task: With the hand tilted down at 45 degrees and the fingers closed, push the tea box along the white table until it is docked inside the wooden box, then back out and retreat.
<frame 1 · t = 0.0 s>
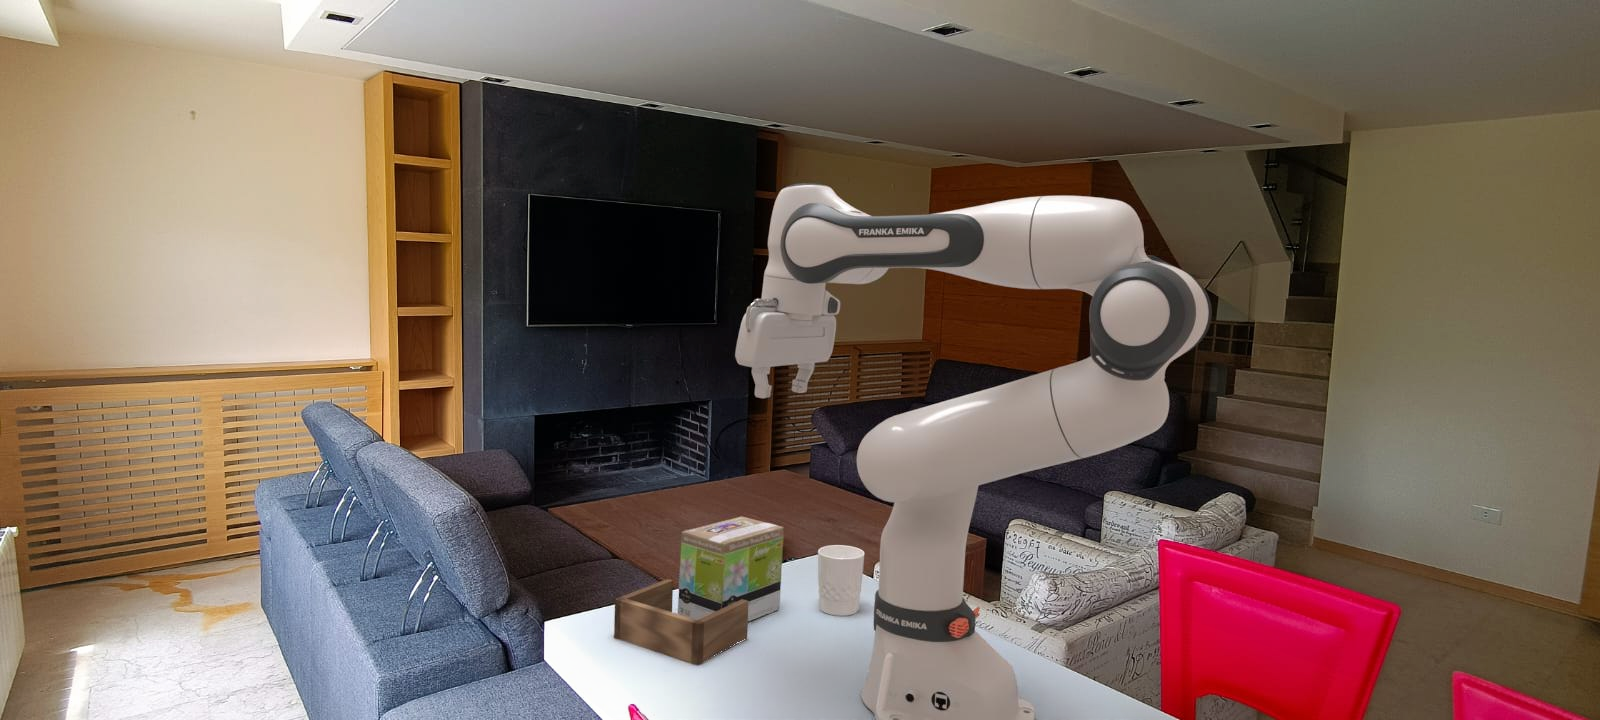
hand: (781, 394, 125), 39 cm above the table, tool pointing down, fingers open, 8 cm apart
wooden box: (680, 638, 134), on the table
tea box: (730, 616, 144), on the table
white cup: (838, 610, 149), on the table
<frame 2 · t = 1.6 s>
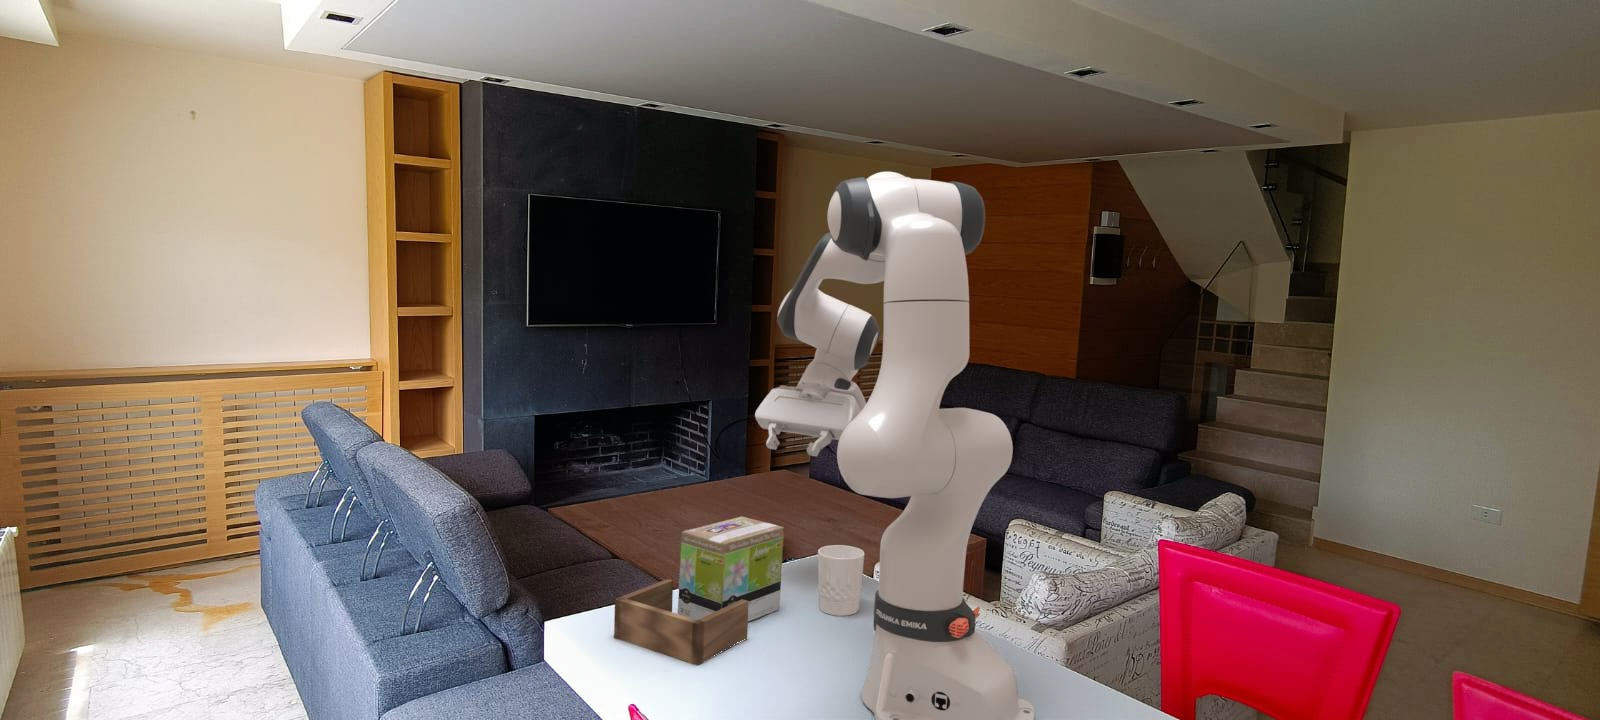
hand: (790, 450, 153), 26 cm above the table, tool tilted 45°, fingers open, 7 cm apart
nothing on the table moved.
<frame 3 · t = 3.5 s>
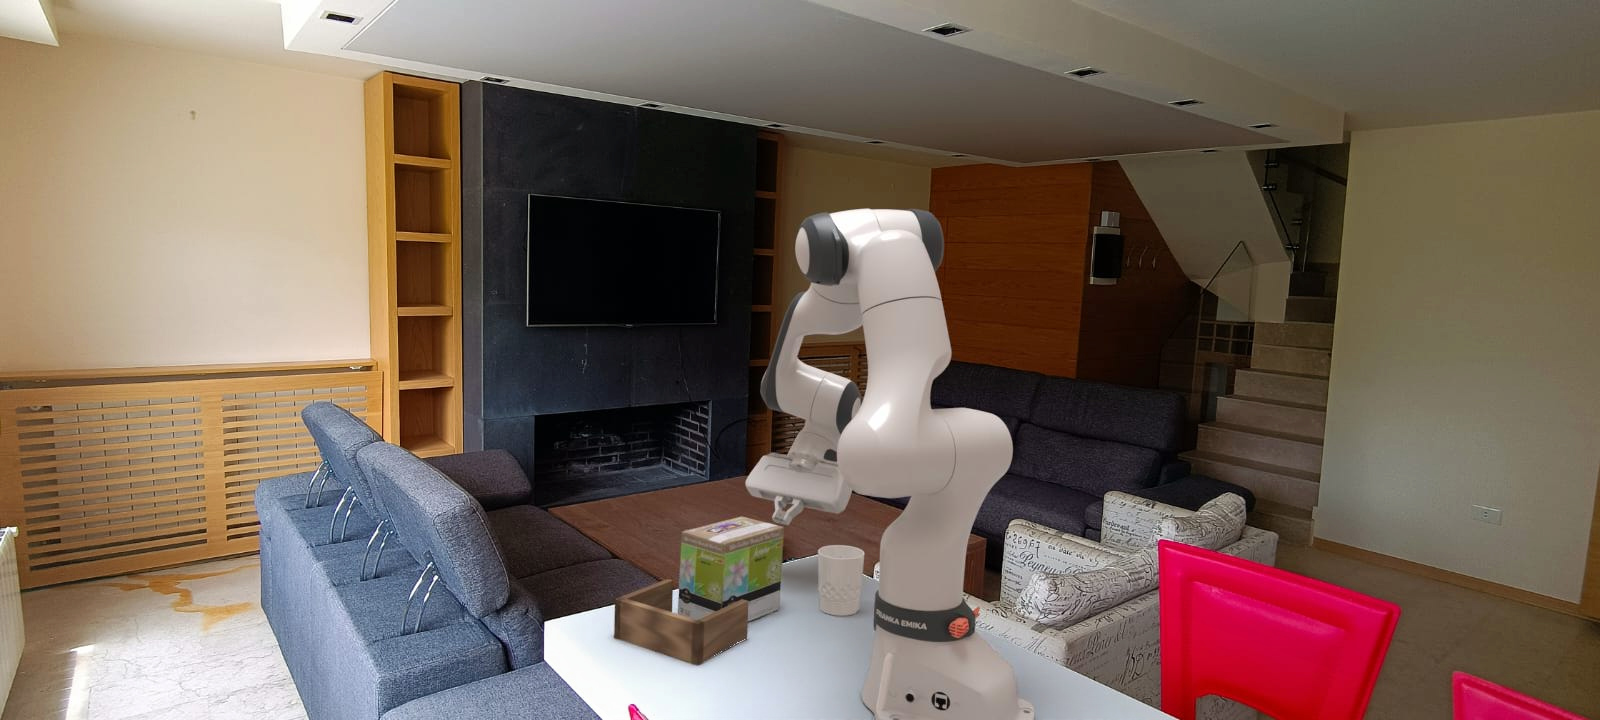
hand: (779, 522, 154), 13 cm above the table, tool tilted 45°, fingers closed
nothing on the table moved.
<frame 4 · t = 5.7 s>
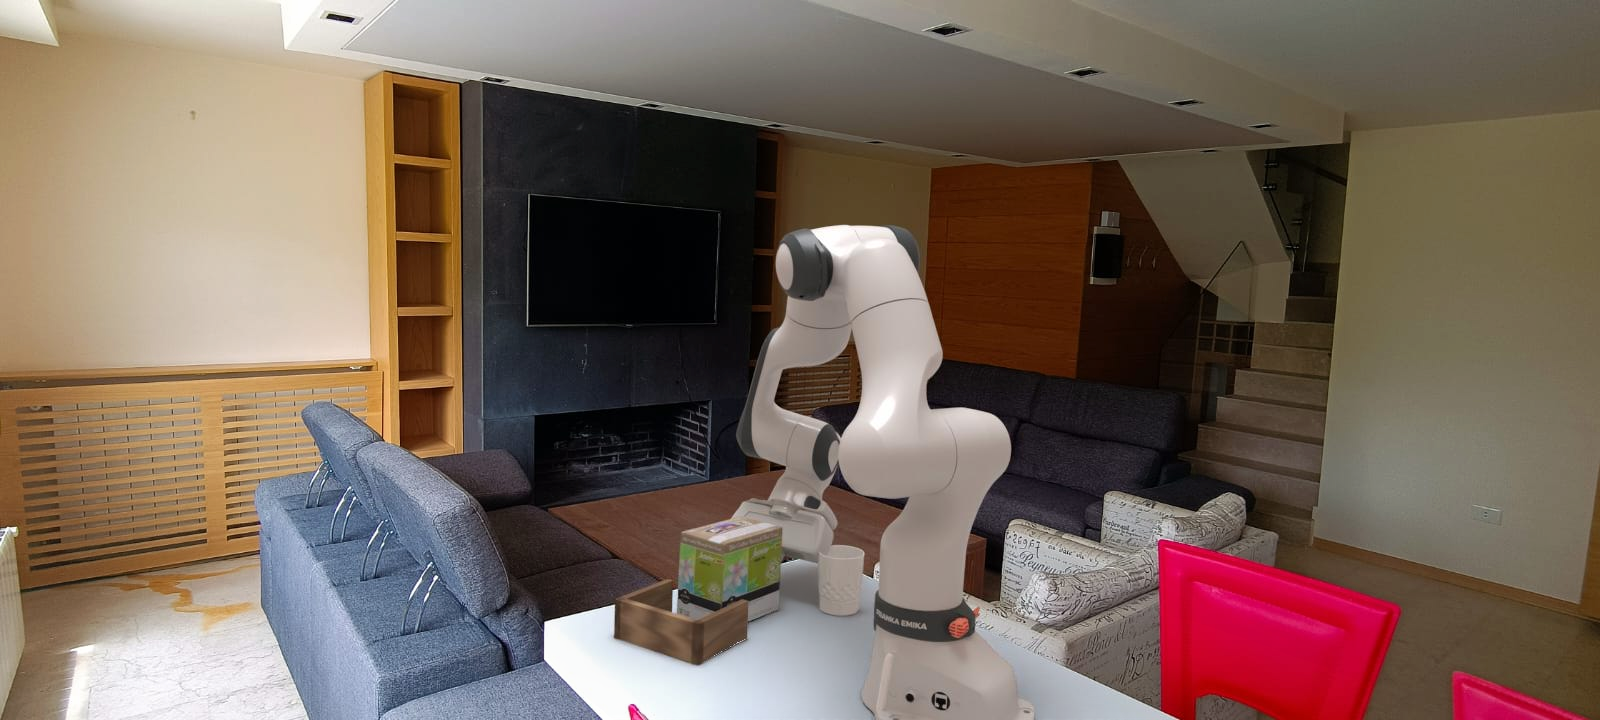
hand: (759, 572, 150), 5 cm above the table, tool tilted 45°, fingers closed
tea box: (729, 616, 144), on the table, touching gripper
everything else where it was.
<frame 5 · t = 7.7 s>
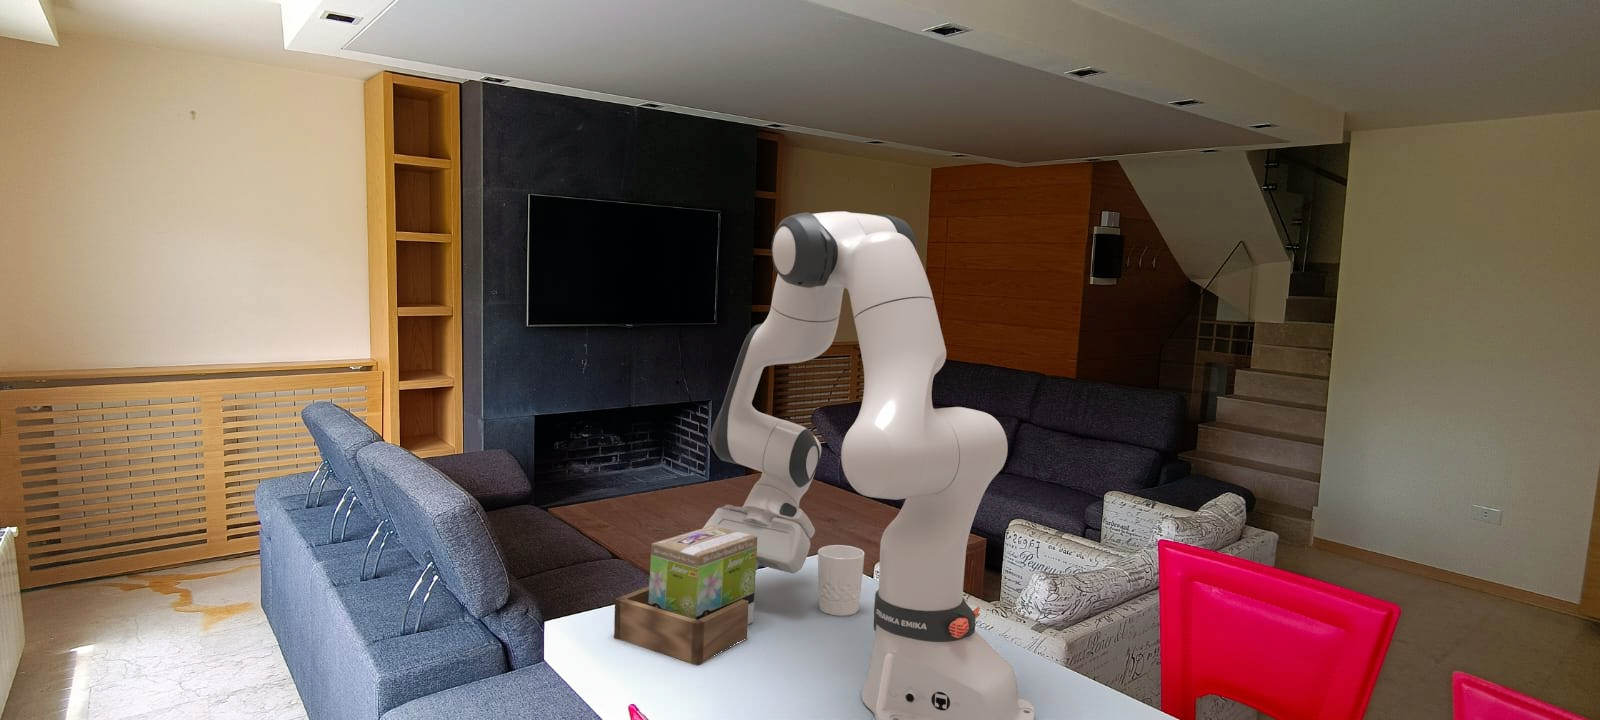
hand: (732, 582, 144), 5 cm above the table, tool tilted 45°, fingers closed
tea box: (702, 630, 138), on the table
everything else where it was.
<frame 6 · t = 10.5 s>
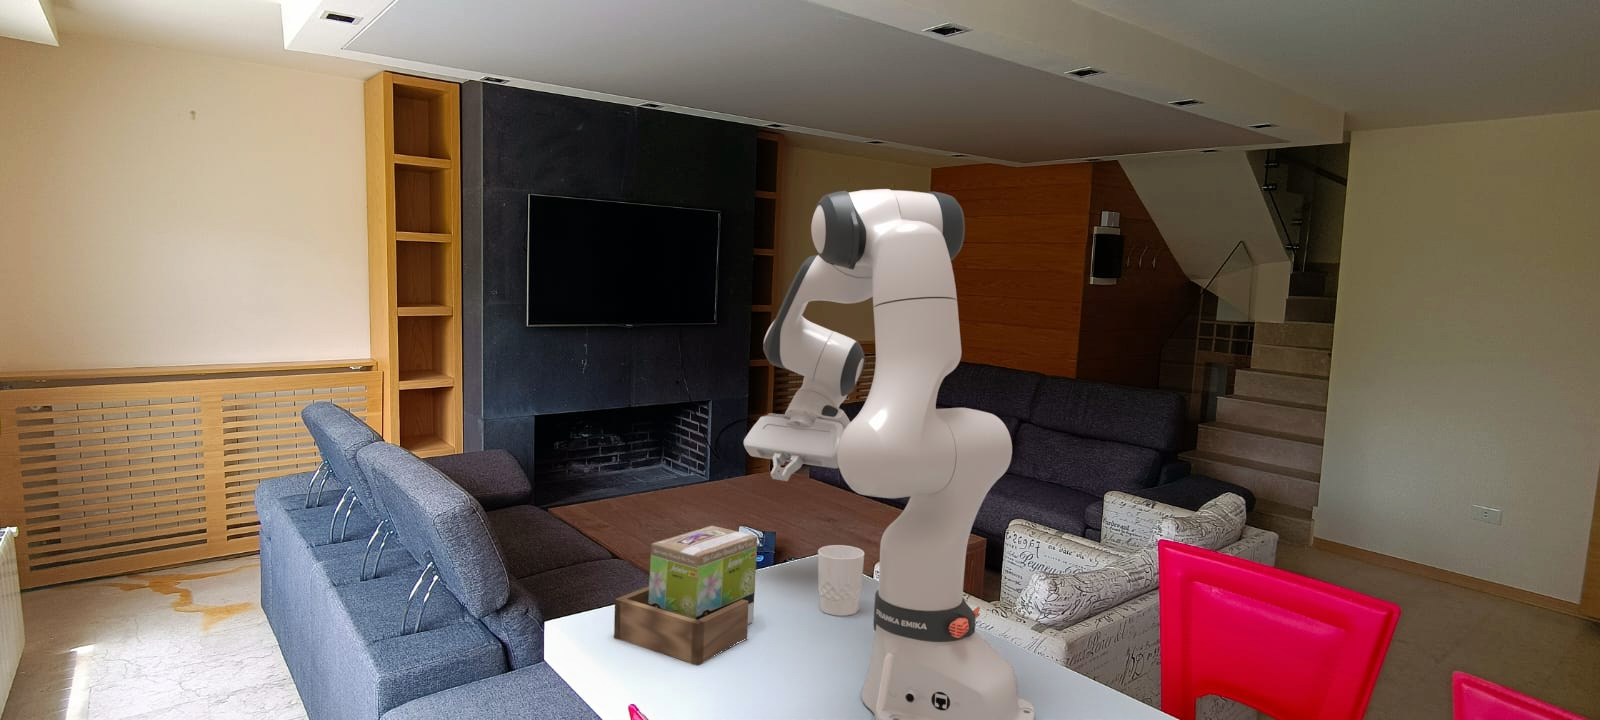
hand: (778, 478, 153), 21 cm above the table, tool tilted 45°, fingers closed
nothing on the table moved.
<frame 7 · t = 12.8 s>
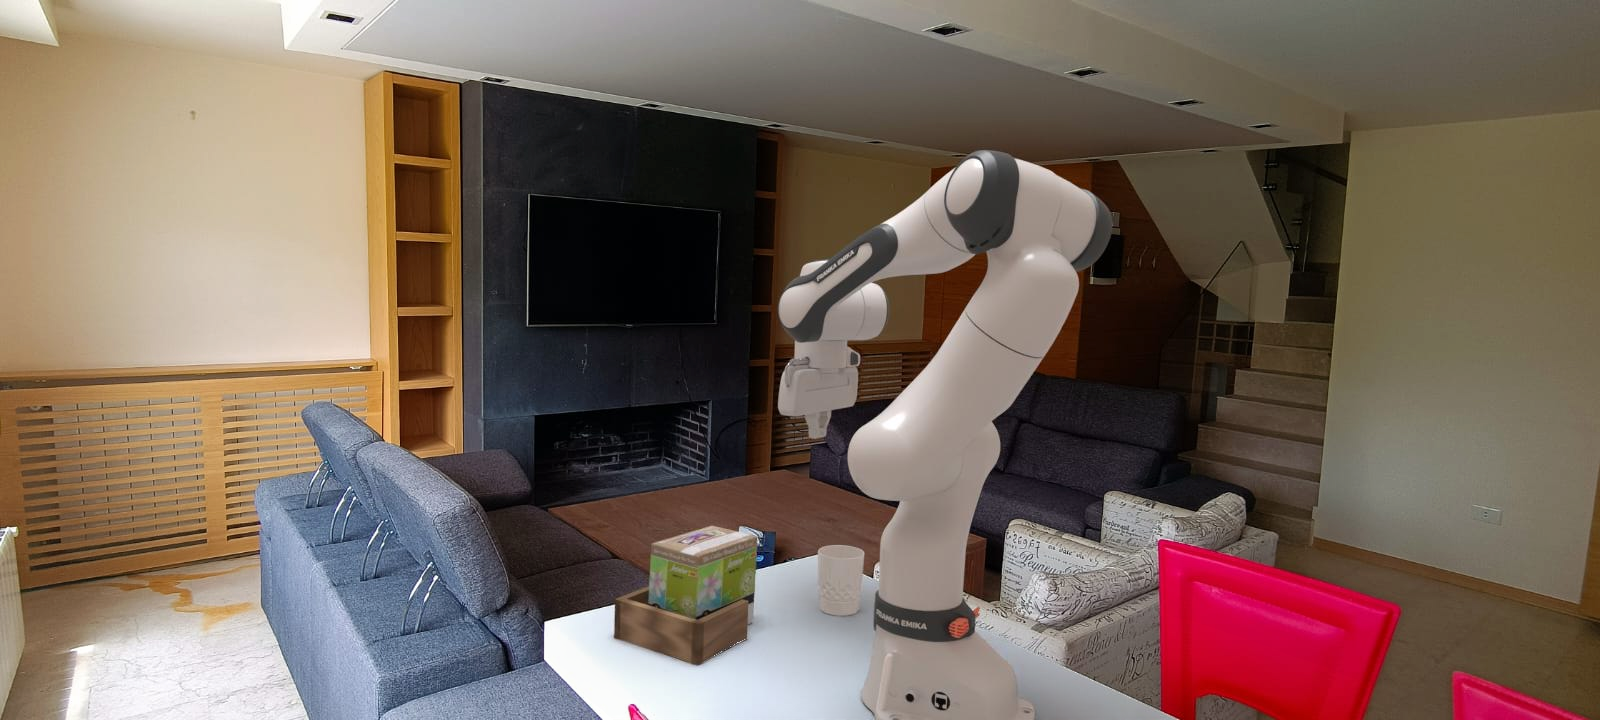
hand: (817, 437, 148), 29 cm above the table, tool pointing down, fingers closed
nothing on the table moved.
at the end: tea box inside the target area on the wooden box (0.3 cm from its centre), point 0.0 cm above the wooden box's base; tea box tilted 0°; tea box moved 7.7 cm from its start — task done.
